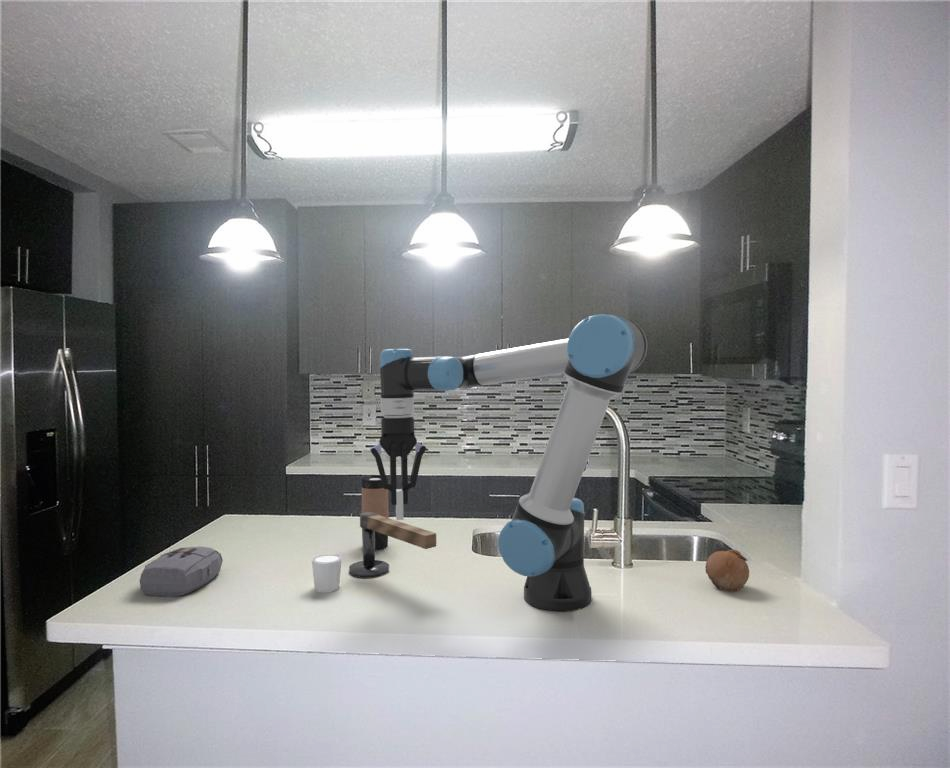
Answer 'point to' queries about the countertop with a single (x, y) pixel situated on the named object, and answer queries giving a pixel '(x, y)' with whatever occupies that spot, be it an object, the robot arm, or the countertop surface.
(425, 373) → the robot arm
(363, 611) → the countertop surface
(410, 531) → the swing arm
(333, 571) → the white cup
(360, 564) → the swing post
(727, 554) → the onion
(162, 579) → the soft grey pack
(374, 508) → the travel mug
